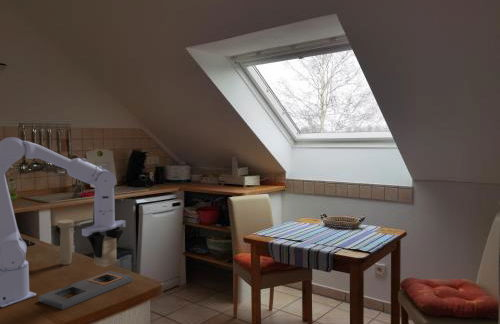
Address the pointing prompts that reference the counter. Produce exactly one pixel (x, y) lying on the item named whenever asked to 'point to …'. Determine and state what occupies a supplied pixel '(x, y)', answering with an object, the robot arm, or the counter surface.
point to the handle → (65, 241)
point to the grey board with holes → (84, 289)
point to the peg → (107, 252)
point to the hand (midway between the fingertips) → (105, 254)
